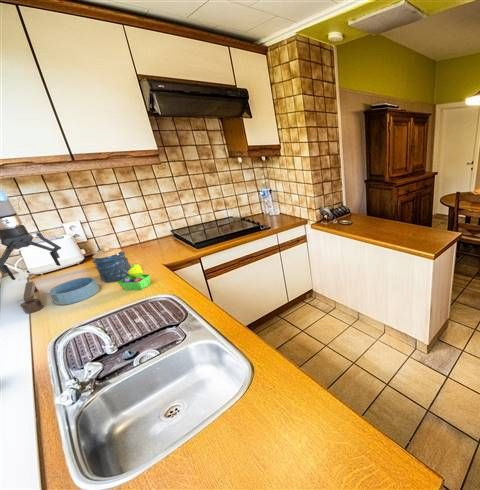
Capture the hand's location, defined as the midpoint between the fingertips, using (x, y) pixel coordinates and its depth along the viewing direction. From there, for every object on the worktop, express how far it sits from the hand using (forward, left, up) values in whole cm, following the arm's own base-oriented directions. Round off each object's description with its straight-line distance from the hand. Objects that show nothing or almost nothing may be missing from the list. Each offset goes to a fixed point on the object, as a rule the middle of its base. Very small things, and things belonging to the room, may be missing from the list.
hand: (37, 271), depth 118 cm
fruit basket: (+17, +29, -16) cm, 37 cm away
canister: (-6, +24, -16) cm, 29 cm away
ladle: (-8, -6, -16) cm, 19 cm away
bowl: (+3, +8, -16) cm, 18 cm away
